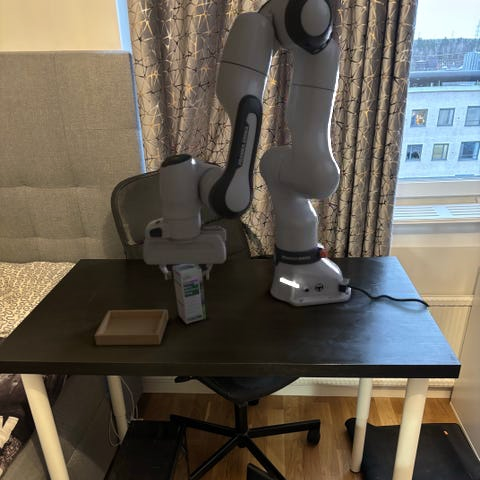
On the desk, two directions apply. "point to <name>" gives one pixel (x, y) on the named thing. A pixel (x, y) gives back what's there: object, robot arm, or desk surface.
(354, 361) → the desk surface
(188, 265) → the syrup box
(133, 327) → the tray
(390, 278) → the desk surface
